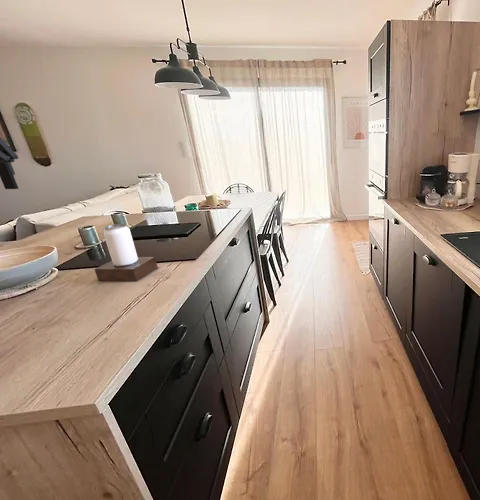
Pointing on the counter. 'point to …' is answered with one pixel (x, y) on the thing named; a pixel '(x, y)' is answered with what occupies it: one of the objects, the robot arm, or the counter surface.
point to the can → (120, 244)
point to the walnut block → (126, 270)
